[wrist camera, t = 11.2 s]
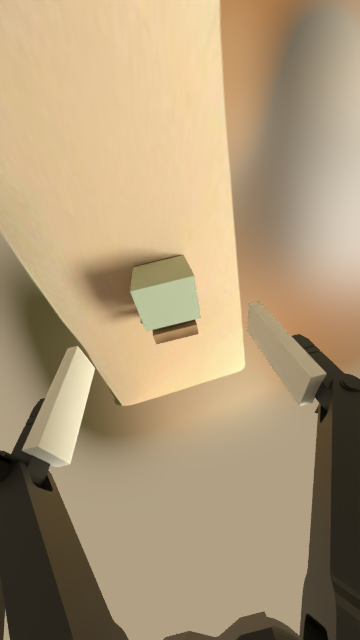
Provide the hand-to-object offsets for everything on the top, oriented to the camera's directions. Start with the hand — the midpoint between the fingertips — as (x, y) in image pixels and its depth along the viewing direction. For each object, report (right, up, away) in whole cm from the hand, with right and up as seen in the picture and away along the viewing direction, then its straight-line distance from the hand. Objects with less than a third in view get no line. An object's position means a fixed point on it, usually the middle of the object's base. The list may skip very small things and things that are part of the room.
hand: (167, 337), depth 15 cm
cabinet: (-3, +8, +30) cm, 31 cm away
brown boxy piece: (-1, +5, +32) cm, 33 cm away
